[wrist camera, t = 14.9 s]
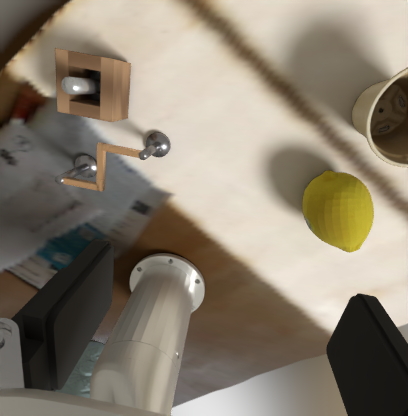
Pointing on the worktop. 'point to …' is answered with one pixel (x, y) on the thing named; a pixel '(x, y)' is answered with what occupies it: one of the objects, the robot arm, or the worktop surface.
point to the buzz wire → (90, 167)
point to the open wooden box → (110, 85)
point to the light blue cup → (83, 372)
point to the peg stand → (84, 85)
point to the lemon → (338, 210)
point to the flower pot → (385, 118)
